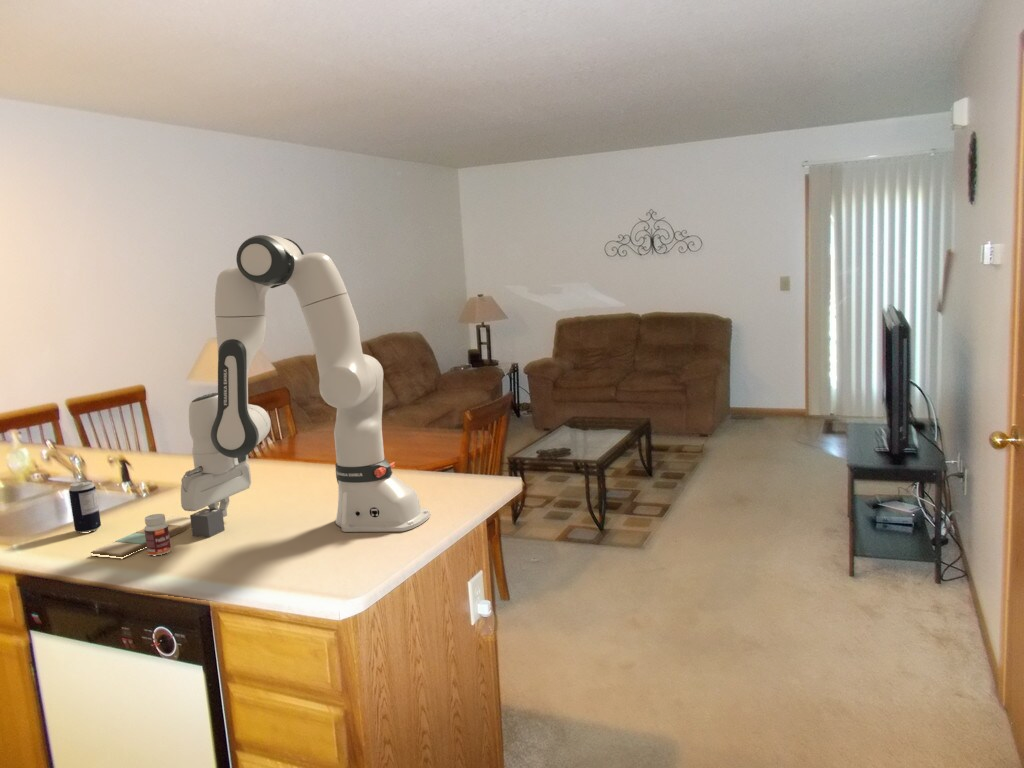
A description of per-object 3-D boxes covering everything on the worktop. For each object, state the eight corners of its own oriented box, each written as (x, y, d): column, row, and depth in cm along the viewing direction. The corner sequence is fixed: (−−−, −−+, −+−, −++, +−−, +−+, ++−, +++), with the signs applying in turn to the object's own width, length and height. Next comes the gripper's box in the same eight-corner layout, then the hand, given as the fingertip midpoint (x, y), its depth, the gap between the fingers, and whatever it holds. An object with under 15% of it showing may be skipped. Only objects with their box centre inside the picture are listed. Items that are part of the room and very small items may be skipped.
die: (224, 530, 187) (222, 509, 186) (209, 537, 183) (207, 516, 182) (207, 528, 189) (205, 508, 188) (192, 535, 184) (189, 514, 184)
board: (200, 523, 194) (200, 518, 193) (122, 559, 171) (121, 553, 171) (172, 521, 197) (171, 516, 197) (91, 556, 175) (90, 550, 174)
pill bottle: (159, 557, 171) (154, 520, 170) (142, 556, 173) (137, 519, 172) (176, 549, 175) (171, 513, 174) (159, 548, 177) (154, 512, 176)
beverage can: (102, 525, 197) (95, 478, 195) (100, 532, 192) (93, 484, 190) (77, 529, 195) (70, 482, 193) (73, 536, 190) (66, 487, 188)
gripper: (192, 474, 177) (199, 533, 179) (252, 451, 196) (258, 505, 198) (170, 472, 179) (177, 531, 181) (232, 451, 198) (238, 504, 200)
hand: (220, 517), depth 190 cm, fingers closed
